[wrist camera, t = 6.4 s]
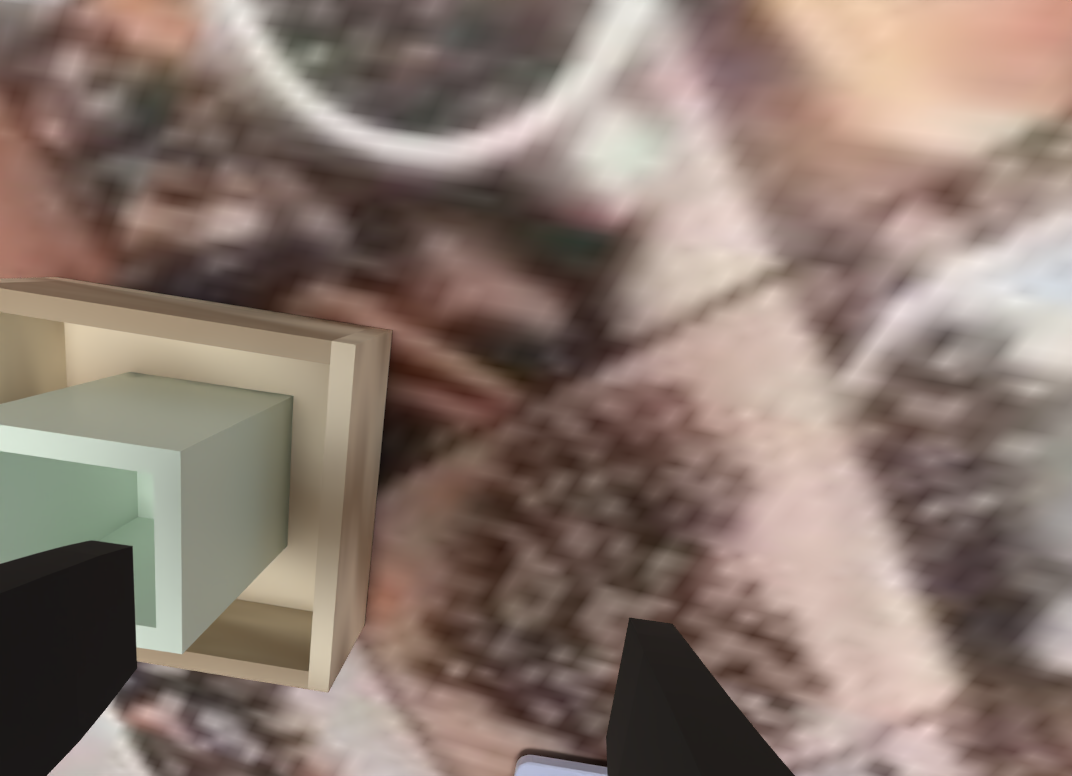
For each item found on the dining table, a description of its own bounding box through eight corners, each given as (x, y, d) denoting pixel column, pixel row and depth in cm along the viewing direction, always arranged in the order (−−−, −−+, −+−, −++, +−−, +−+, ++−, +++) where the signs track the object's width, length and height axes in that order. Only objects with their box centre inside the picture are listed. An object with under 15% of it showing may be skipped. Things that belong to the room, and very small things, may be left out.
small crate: (287, 545, 17) (181, 654, 13) (134, 522, 18) (-30, 621, 13) (293, 395, 16) (180, 451, 11) (129, 371, 16) (-52, 417, 12)
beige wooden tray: (364, 625, 19) (328, 692, 16) (71, 577, 19) (-20, 635, 16) (392, 330, 16) (355, 344, 13) (57, 277, 16) (-52, 279, 13)
